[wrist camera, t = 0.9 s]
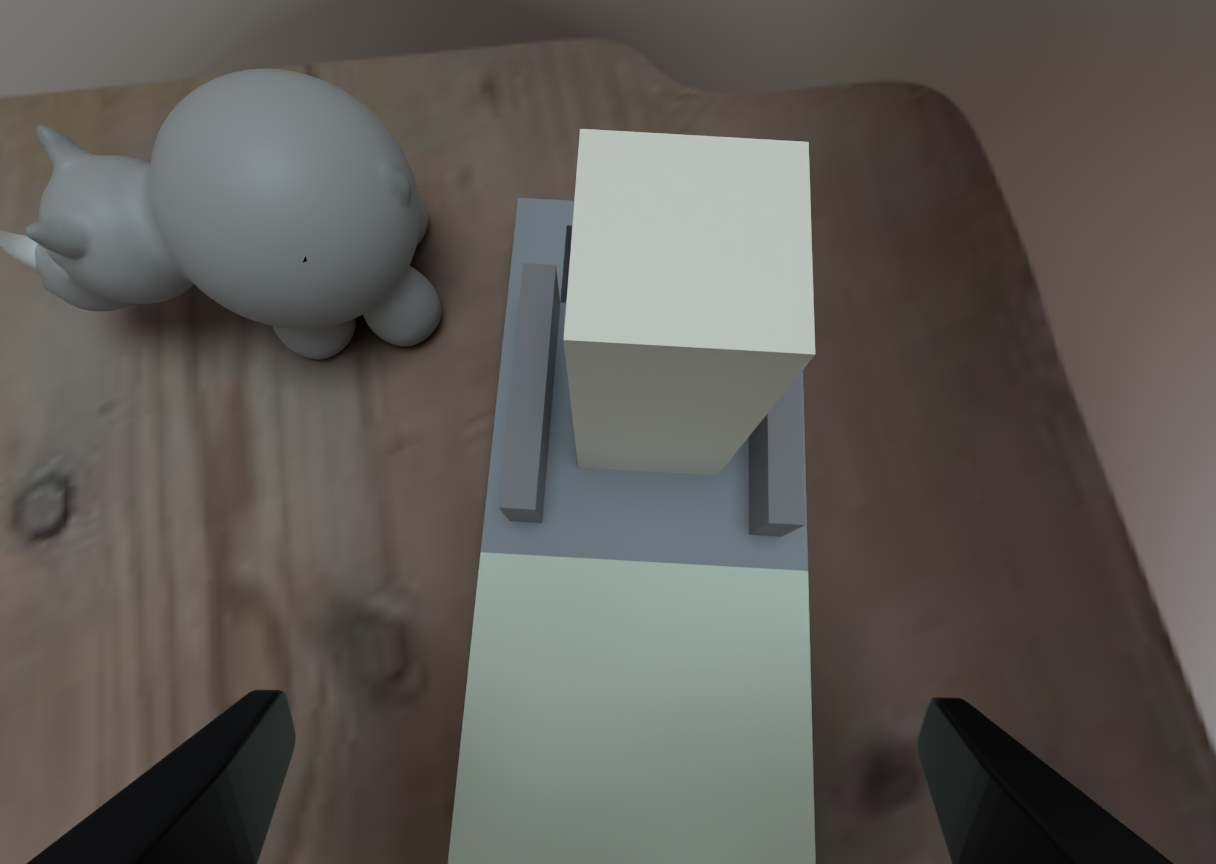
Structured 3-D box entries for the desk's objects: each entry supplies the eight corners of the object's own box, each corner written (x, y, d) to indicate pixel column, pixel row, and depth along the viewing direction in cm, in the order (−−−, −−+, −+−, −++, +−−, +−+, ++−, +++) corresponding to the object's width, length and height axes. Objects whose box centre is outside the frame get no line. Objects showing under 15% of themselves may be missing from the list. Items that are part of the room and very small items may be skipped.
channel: (791, 878, 21) (850, 955, 16) (462, 859, 21) (421, 930, 16) (780, 251, 27) (821, 168, 22) (525, 236, 27) (509, 150, 22)
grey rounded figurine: (123, 225, 26) (-102, 35, 18) (445, 190, 27) (375, -9, 19) (111, 407, 24) (-149, 290, 16) (459, 364, 25) (388, 230, 17)
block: (717, 475, 21) (814, 354, 12) (578, 468, 21) (563, 340, 12) (718, 347, 23) (808, 142, 13) (587, 339, 23) (579, 129, 13)
